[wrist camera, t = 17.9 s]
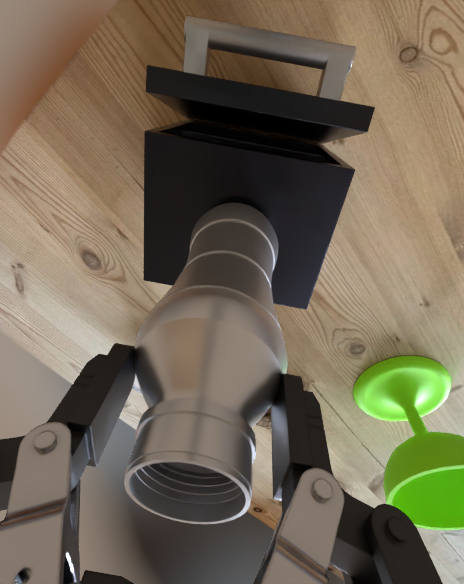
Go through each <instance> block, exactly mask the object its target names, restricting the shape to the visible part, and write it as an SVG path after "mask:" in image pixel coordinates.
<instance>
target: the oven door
mask: <svg viewBox="0 0 464 584" xmlns="http://www.w3.org/2000/svg"><path fill="white" fill-rule="evenodd" d="M184 41H185V54H184V66H183V72H182V71H177V70H171V69H166V68H160V67H155V66H150V65H147V76H146V92H147V93H149V94H150V95H152V96H154V97H155V98H157V99H158V100H160V101H161V102H163V103H164V104H166V105H168V106H169V107H171V108H172V109H174V110H175V111H177V112H178V113H180V114H181V115H183V116H185V117H186V118H189V119H195V120H200V121H206V122H211V123H217V124H222V125H228V126H233V127H238V128H244V129H249V130H255V131H260V132H266V133H271V134H276V135H282V136H287V137H293V138H298V139H304V140H309V141H315V142H320V143H327V142H331V141H335V140H339V139H343V138H347V137H351V136H355V135H359V134H363V133H367V132H368V129H369V125H370V122H371V119H372V116H373V112H374V109H375V107H371V106H366V105H360V104H355V103H350V102H344V101H340V99H341V95H342V91H343V88H344V84H345V80H346V76H347V74H348V72H349V71H350V69H351V66H352V64H353V61H354V57H355V53H356V47H354V46H349V45H343V44H338V43H333V42H327V41H322V40H316V39H311V38H306V37H300V36H295V35H290V34H284V33H279V32H274V31H268V30H263V29H257V28H252V27H247V26H241V25H236V24H231V23H225V22H220V21H215V20H209V19H204V18H198V17H193V16H188V15H187V16H186V18H185V22H184ZM211 49H215V50H221V51H226V52H232V53H237V54H242V55H248V56H253V57H259V58H264V59H269V60H275V61H280V62H285V63H291V64H296V65H302V66H307V67H312V68H318V69H322V74H321V78H320V82H319V86H318V90H317V95H316V96H312V95H306V94H301V93H295V92H290V91H285V90H279V89H274V88H268V87H263V86H258V85H252V84H247V83H241V82H236V81H231V80H225V79H220V78H214V77H209V76H208V69H209V60H210V51H211Z"/></svg>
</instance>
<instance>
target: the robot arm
mask: <svg viewBox="0 0 464 584" xmlns="http://www.w3.org/2000/svg"><path fill="white" fill-rule="evenodd" d="M134 356H135V347H134V346H129V345H123V344H118V343H115V344H114V345H113V347H112V348H111V350H110V352H109V353H108V355H102V354H98V355H97V356H95V357H94V358H93V359H91V360H90V361H89V362H87V364H86V365H85V367H84V368H83V370H82V371H81V373H80V375H79V376H78V377H77V379H76V380H75V382H74V384H73V385H72V386H71V388H70V389H69V391H68V392H67V394H66V395H65V397H64V398H63V400H62V401H61V403H60V404H59V406H58V407H57V409H56V410H55V411H54V413H53V414H52V416H51V417H50V419H49V420H48V421H47V422H46V423H45V424H42V425H40V426H37V427H36V428H34V429H33V430H31V431H30V432H29V433H28V434H27V435H25V436H22V437H17V438H9V439H1V440H0V511H1V510H6V509H7V513H6V517H5V519H4V520H3V521H1V522H0V584H134V583H132V582H130V581H129V580H127V579H125V578H123V577H121V576H116V575H110V574H104V573H98V572H93V571H87V570H85V572H84V575H83V577H82V580H81V581H80V555H79V512H80V511H79V509H80V478H81V476H82V474H83V472H84V469H85V467H86V465H89V466H95V467H96V466H97V464H98V461H99V459H100V457H101V455H102V453H103V451H104V448H105V446H106V444H107V442H108V440H109V438H110V435H111V433H112V431H113V429H114V427H115V424H116V422H117V420H118V418H119V416H120V413H121V411H122V409H123V407H124V405H125V402H126V400H127V398H128V396H129V394H130V392H131V389H132V387H133V384H134V381H135V375H136V373H135V367H134ZM271 424H272V472H273V499H278V500H282V514H281V516H280V518H279V521H278V523H277V526H276V528H275V531H274V533H273V536H272V538H271V541H270V543H269V546H268V548H267V551H266V553H265V555H264V558H263V560H262V563H261V565H260V568H259V570H258V573H257V575H256V578H255V580H254V582H253V584H329V579H328V577H327V571H328V567H329V563H330V564H332V565H333V566H335V567H337V568H338V569H340V570H341V571H342V573H343V576H344V580H345V584H443V583H442V581H441V579H440V577H439V575H438V573H437V571H436V568H435V566H434V564H433V562H432V560H431V558H430V556H429V554H428V551H427V549H426V547H425V545H424V543H423V541H422V539H421V536H420V534H419V532H418V530H417V528H416V526H415V525H414V523H413V522H412V521H411V519H410V518H409V517H408V516H407V515H406V514H405V513H404V512H402V511H401V510H400V509H398V508H397V507H394V506H392V505H389V504H381V505H378V506H377V507H376V508H375V509H374V508H372V507H371V506H369V505H367V504H365V503H363V502H361V501H359V500H357V499H355V498H354V497H352V496H350V495H349V494H348V493H346V492H345V491H344V490H343V489H342V488H341V486H340V484H339V483H338V481H337V480H336V479H335V477H334V476H333V473H332V470H331V465H330V459H329V454H328V448H327V442H326V437H325V431H324V429H323V428H324V426H323V420H322V415H321V409H320V404H319V402H318V401H317V399H316V397H315V396H314V394H313V392H307V391H303V384H302V378H301V377H300V376H295V375H289V374H283V373H282V377H281V382H280V386H279V390H278V394H277V397H276V399H275V401H274V403H273V404H272V409H271Z"/></svg>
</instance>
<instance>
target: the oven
mask: <svg viewBox="0 0 464 584" xmlns="http://www.w3.org/2000/svg"><path fill="white" fill-rule="evenodd" d="M354 172H355V169H353V168H352V167H351V166H350V165H348V164H347V163H346V162H344V161H343V160H342V159H340V158H339V157H337V156H336V155H335V154H333V153H332V152H331V151H329V150H328V149H327V148H325V147H324V146H323V145H317V144H312V143H306V142H301V141H296V140H290V139H285V138H279V137H274V136H268V135H263V134H258V133H252V132H247V131H241V130H236V129H230V128H225V127H219V126H214V125H209V124H203V123H198V122H192V121H183V122H179V123H175V124H171V125H167V126H163V127H159V128H155V129H151V130H147V131H145V145H144V280H145V281H151V282H156V283H162V284H167V285H174V284H175V282H176V281H177V279H178V277H179V276H180V274H181V273H182V271H183V269H184V268H185V266H186V263H187V260H188V256H189V253H190V247H189V246H190V241H191V236H192V231H193V229H194V227H195V224H196V223H197V222H198V220H199V219H200V218H201V217H202V216H203V215H204V214H205V213H207V212H208V211H209V210H211V209H213V208H215V207H216V206H219V205H222V204H225V203H242V204H245V205H249V206H251V207H253V208H255V209H257V210H258V211H259V212H261V213H262V214H263V215H264V216H265V217H266V218H267V220H268V221H269V222H270V224H271V226H272V227H273V229H274V231H275V233H276V236H277V240H278V256H277V261H276V265H275V267H274V270H273V272H272V279H271V290H272V297H273V304H278V305H284V306H290V307H295V308H301V309H307V307H308V304H309V301H310V298H311V296H312V293H313V290H314V287H315V284H316V281H317V278H318V275H319V273H320V270H321V267H322V264H323V261H324V258H325V255H326V252H327V250H328V247H329V244H330V241H331V238H332V235H333V232H334V229H335V227H336V224H337V221H338V218H339V215H340V212H341V209H342V206H343V204H344V201H345V198H346V195H347V192H348V189H349V186H350V183H351V181H352V178H353V175H354Z"/></svg>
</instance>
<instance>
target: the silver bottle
mask: <svg viewBox="0 0 464 584" xmlns="http://www.w3.org/2000/svg"><path fill="white" fill-rule="evenodd" d="M189 247H190V253H189V256H188V260H187V263H186V266H185V268H184V269H183V271H182V273H181V274H180V276H179V277H178V279H177V281H176V282H175V284H174V285H173V286H172V287H171V288H170V290H169V291H168V292H167V293H166V294H165V295H164V297H163V298H162V299H161V300H160V301H159V302H158V304H157V305H156V306H155V307H154V308H153V309H152V311H151V312H150V313H149V315H148V316H147V318H146V319H145V321H144V322H143V323H142V325H141V327H140V329H139V331H138V334H137V336H136V345H135V356H134V367H135V373H136V376H137V380H138V383H139V386H140V389H141V392H142V394H143V397H144V399H145V401H146V403H147V405H148V407H149V409H148V410H147V411H146V412H145V413H144V414H143V416H142V417H141V419H140V422H139V425H138V428H137V430H136V436H135V440H136V443H135V446H134V449H133V452H132V455H131V458H130V461H129V464H128V467H127V469H126V475H125V481H124V485H125V489H126V491H127V492H128V494H129V496H130V497H131V498H132V499H133V500H134V501H135V502H136V503H138V504H139V505H140V506H142V507H143V508H145V509H147V510H149V511H150V512H152V513H155V514H157V515H159V516H162V517H165V518H168V519H171V520H176V521H180V522H186V523H194V524H216V523H223V522H227V521H230V520H234V519H236V518H238V517H240V516H241V515H243V514H244V513H245V512H246V511H247V510H248V508H249V506H250V502H251V497H252V464H253V462H254V460H255V455H256V439H255V434H254V432H253V430H252V427H253V426H254V425H255V424H256V423H257V422H258V421H259V420H260V419H261V418H262V417H263V416H264V415H265V413H266V412H267V411H268V410H269V408H270V407H271V406H272V404H273V403H274V401H275V399H276V397H277V394H278V390H279V386H280V382H281V377H282V373H283V374H286V371H287V366H288V362H287V352H286V347H285V341H284V338H283V335H282V331H281V328H280V325H279V321H278V318H277V315H276V311H275V308H274V305H273V297H272V290H271V279H272V272H273V270H274V267H275V265H276V261H277V256H278V240H277V236H276V233H275V231H274V229H273V227H272V226H271V224H270V222H269V221H268V220H267V218H266V217H265V216H264V215H263V214H262V213H261V212H259V211H258V210H257V209H255V208H253V207H251V206H249V205H245V204H242V203H225V204H222V205H219V206H216V207H215V208H213V209H211V210H209V211H208V212H207V213H205V214H204V215H203V216H202V217H201V218H200V219H199V220H198V222H197V223H196V224H195V227H194V229H193V231H192V236H191V241H190V246H189Z"/></svg>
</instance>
